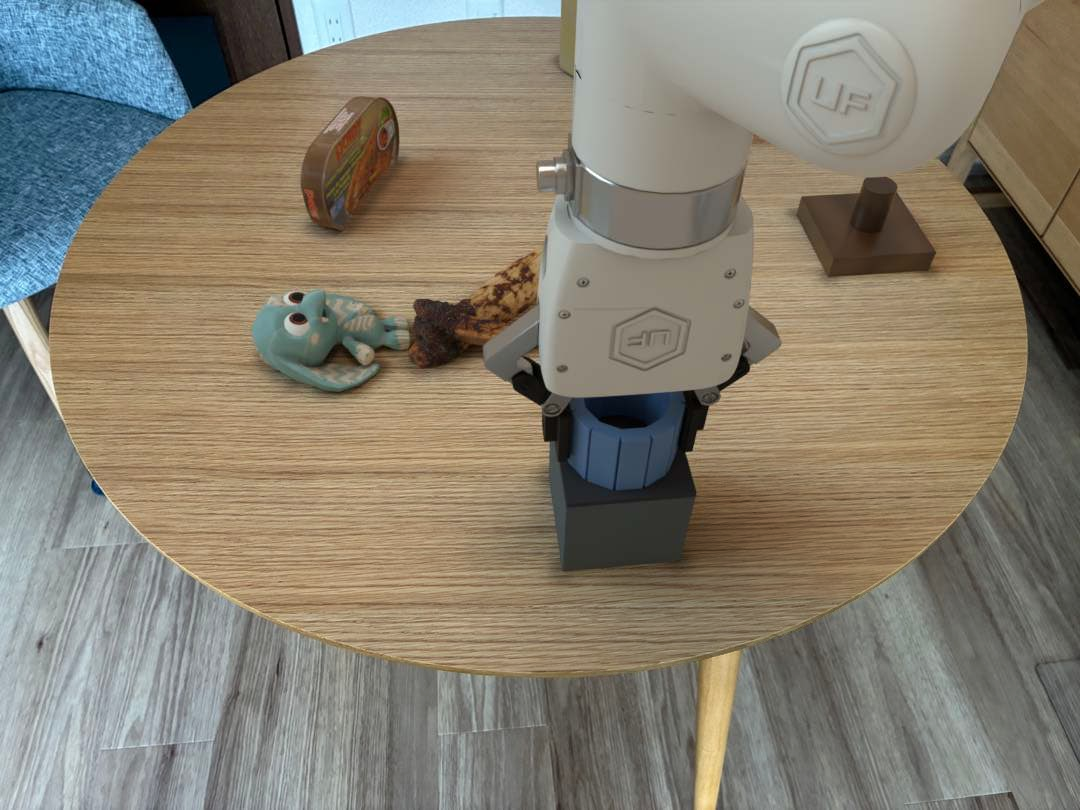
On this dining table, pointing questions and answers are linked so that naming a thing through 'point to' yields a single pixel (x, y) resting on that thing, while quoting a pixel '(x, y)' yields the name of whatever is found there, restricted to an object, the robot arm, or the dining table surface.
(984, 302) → the dining table surface
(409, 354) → the bone fish hook
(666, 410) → the ring
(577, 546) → the block
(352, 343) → the teal creature figurine
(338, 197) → the tin
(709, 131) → the robot arm
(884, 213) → the platform
